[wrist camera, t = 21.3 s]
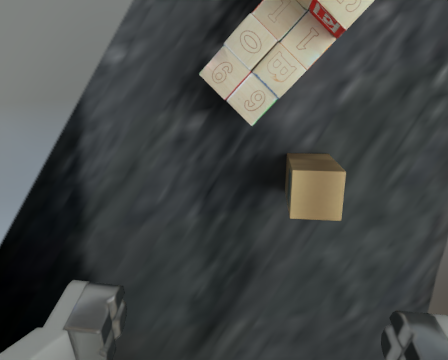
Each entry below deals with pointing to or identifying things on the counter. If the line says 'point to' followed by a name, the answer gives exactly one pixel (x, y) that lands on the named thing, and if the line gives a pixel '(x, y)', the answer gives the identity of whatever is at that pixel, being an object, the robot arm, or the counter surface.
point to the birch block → (314, 187)
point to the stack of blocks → (276, 50)
